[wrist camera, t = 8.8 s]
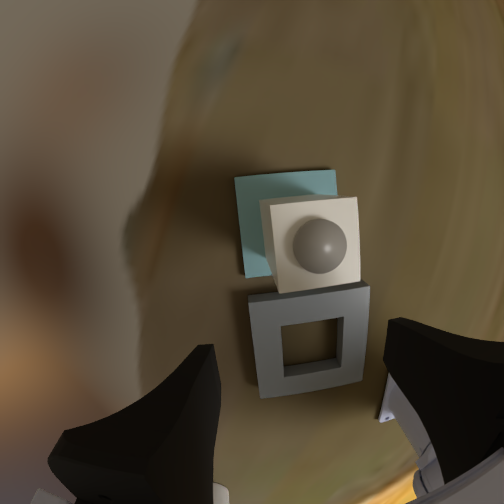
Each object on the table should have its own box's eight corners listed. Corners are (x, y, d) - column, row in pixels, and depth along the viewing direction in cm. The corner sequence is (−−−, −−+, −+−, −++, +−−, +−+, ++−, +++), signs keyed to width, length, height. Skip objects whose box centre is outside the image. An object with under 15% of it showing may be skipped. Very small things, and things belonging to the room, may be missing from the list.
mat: (332, 170, 19) (335, 169, 18) (338, 264, 20) (340, 266, 20) (234, 177, 19) (234, 177, 18) (245, 276, 20) (245, 278, 20)
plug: (316, 194, 19) (360, 197, 12) (321, 250, 20) (363, 283, 12) (259, 200, 19) (271, 205, 11) (265, 257, 20) (280, 296, 12)
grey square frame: (362, 279, 21) (370, 286, 19) (356, 371, 23) (362, 380, 21) (247, 295, 21) (248, 303, 19) (259, 388, 23) (260, 398, 21)
